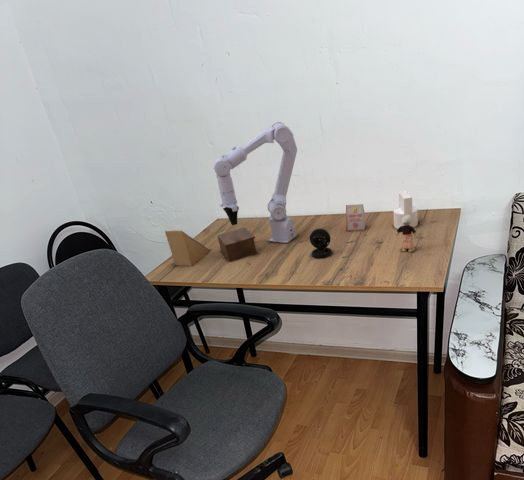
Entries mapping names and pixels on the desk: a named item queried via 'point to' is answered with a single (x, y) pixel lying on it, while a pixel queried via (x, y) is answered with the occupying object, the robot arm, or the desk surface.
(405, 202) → the cylinder with rectangular tab
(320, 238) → the webcam
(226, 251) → the walnut box
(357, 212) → the grey printed box
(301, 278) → the desk surface
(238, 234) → the lid
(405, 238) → the grandmother figurine
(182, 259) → the sandwich container
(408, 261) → the desk surface
